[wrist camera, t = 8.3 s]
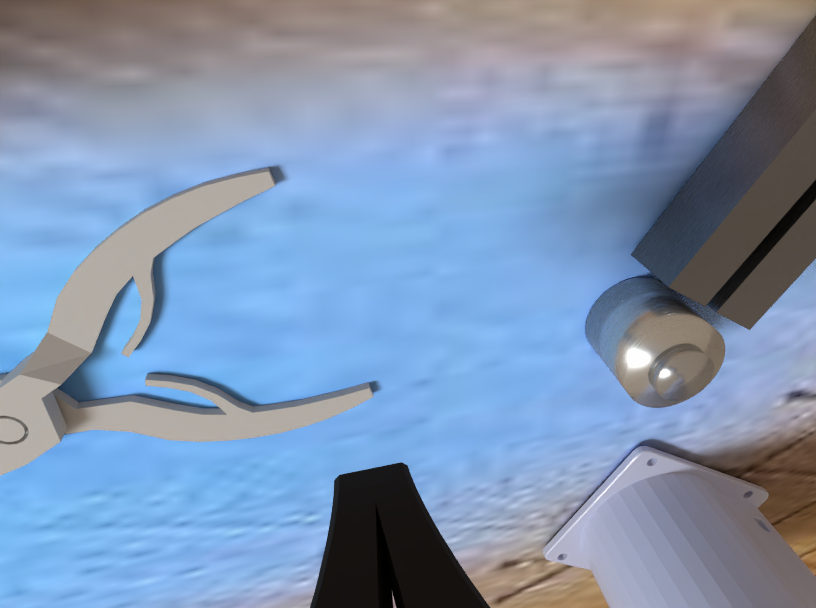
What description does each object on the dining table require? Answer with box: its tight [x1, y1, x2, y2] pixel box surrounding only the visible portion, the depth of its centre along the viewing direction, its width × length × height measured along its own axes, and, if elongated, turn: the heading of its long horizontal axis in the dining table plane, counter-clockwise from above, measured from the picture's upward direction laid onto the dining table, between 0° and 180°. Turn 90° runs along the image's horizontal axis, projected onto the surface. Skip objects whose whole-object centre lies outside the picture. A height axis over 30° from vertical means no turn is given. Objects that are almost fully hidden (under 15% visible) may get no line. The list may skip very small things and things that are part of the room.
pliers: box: [0, 168, 373, 475], centre depth 19 cm, size 10×2×15 cm
